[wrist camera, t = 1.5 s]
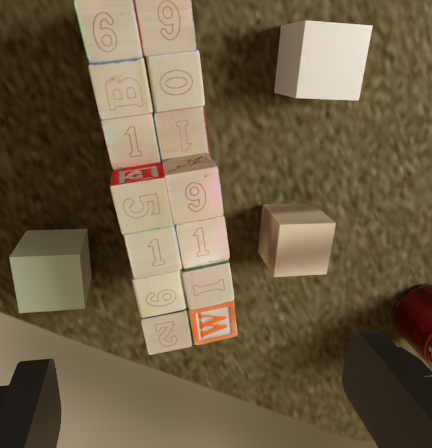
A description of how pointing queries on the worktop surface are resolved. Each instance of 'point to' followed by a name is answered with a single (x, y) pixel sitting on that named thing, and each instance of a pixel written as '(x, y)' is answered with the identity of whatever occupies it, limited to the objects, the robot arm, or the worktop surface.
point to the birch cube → (295, 239)
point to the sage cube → (51, 270)
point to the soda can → (416, 320)
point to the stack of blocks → (161, 167)
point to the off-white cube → (322, 60)
